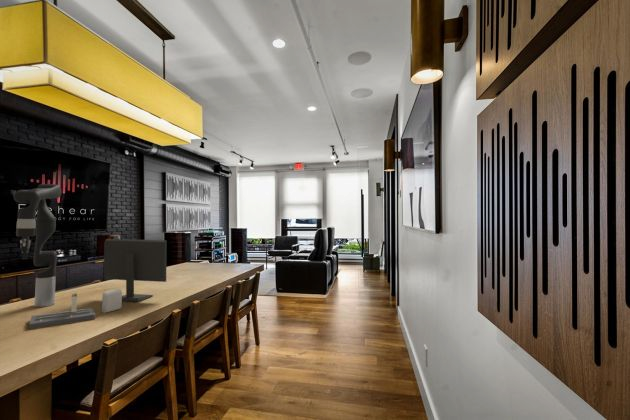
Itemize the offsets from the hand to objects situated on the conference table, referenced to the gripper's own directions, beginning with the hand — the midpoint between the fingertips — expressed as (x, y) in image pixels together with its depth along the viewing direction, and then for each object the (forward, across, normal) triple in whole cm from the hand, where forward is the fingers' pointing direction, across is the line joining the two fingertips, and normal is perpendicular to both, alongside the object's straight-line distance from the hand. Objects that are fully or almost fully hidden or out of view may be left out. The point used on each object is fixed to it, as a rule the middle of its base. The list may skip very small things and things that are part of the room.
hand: (24, 259), depth 165 cm
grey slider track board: (+31, -16, -18) cm, 39 cm away
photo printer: (+32, -11, -39) cm, 52 cm away
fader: (+28, -16, -22) cm, 39 cm away
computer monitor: (+32, +12, -54) cm, 64 cm away
